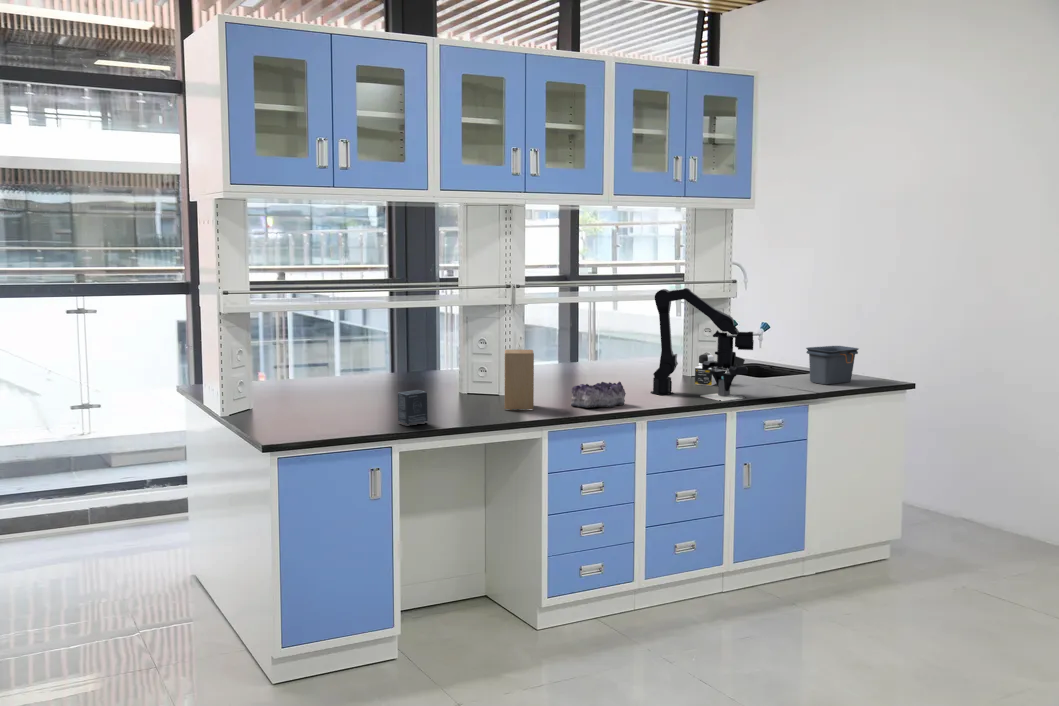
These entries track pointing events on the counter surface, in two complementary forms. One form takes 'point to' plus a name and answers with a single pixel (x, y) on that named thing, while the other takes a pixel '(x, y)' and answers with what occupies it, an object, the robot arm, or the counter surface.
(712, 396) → the notepad
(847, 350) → the storage bin
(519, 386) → the wooden block
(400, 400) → the box
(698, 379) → the medicine bottle
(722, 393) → the grey bottle
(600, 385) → the geode
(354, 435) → the counter surface
